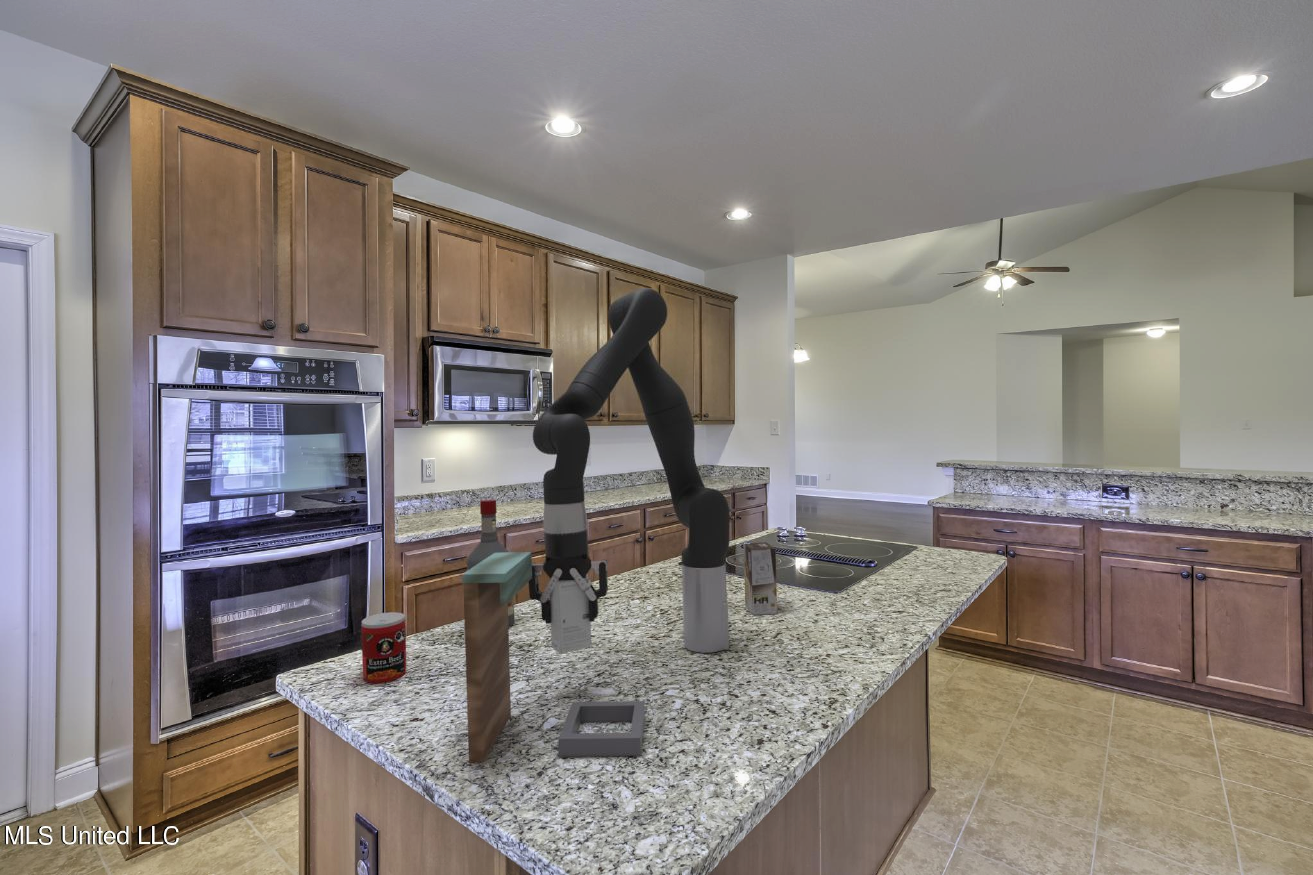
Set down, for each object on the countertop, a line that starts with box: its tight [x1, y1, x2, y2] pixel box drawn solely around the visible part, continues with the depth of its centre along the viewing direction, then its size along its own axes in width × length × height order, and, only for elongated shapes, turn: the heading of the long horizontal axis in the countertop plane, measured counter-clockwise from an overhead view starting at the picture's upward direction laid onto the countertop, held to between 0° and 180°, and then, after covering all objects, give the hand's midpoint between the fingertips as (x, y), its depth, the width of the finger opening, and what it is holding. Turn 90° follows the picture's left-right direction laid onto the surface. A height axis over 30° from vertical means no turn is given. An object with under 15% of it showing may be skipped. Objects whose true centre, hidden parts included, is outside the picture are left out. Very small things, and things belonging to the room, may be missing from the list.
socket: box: [557, 700, 646, 758], centre depth 89 cm, size 12×12×2 cm
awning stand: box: [461, 551, 533, 764], centre depth 90 cm, size 6×15×26 cm, turn 178°
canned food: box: [360, 611, 408, 684], centre depth 115 cm, size 8×8×11 cm
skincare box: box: [548, 576, 592, 655], centre depth 105 cm, size 6×4×12 cm
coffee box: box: [742, 541, 778, 616], centre depth 150 cm, size 9×6×16 cm
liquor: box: [466, 499, 516, 628], centre depth 142 cm, size 9×9×30 cm
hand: (570, 621), depth 105 cm, fingers closed on skincare box, 7 cm apart
